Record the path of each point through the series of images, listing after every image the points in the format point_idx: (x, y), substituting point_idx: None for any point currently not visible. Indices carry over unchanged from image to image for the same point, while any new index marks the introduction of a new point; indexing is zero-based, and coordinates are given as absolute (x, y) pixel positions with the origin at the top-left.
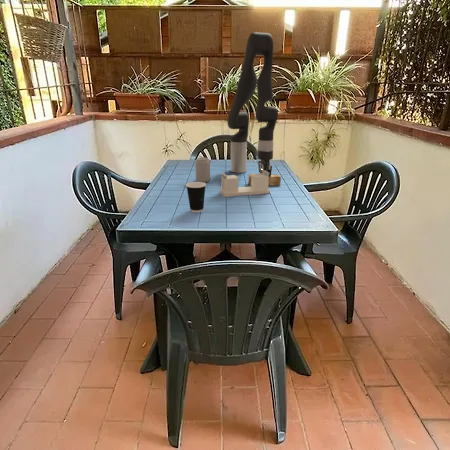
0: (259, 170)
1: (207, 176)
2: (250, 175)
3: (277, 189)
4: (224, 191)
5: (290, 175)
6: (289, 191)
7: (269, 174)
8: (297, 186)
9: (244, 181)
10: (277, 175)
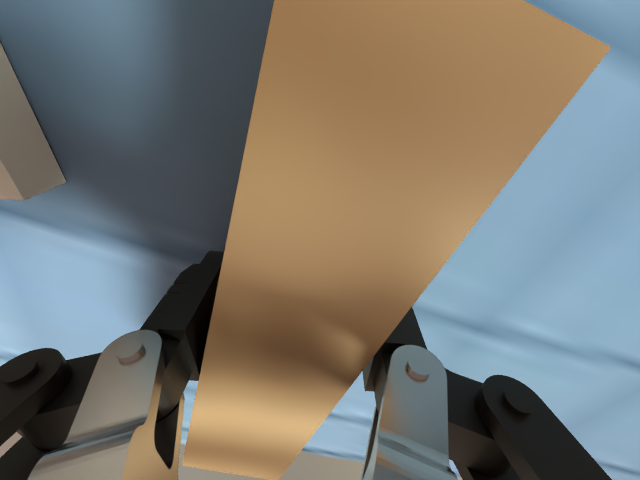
0: (504, 429)
1: None
2: (423, 63)
3: (63, 301)
4: None
5: (459, 473)
6: (15, 352)
7: (33, 447)
8: None
9: (612, 9)
10: (248, 462)
